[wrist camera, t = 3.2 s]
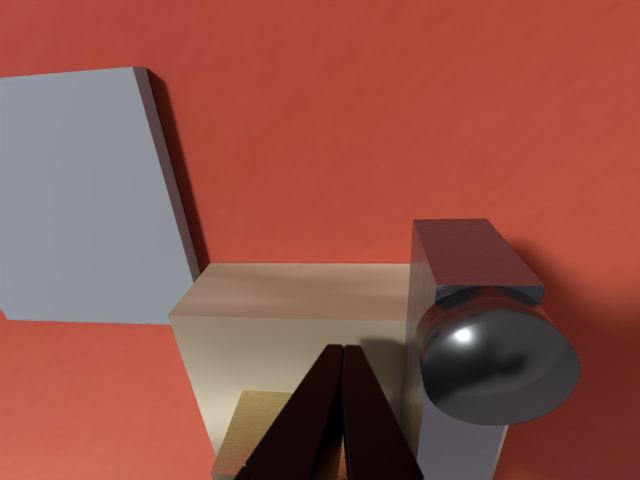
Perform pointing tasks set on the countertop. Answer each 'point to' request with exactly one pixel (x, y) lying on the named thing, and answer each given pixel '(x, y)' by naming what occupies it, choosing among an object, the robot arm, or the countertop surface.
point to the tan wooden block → (252, 432)
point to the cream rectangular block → (287, 329)
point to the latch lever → (475, 348)
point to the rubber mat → (89, 201)
